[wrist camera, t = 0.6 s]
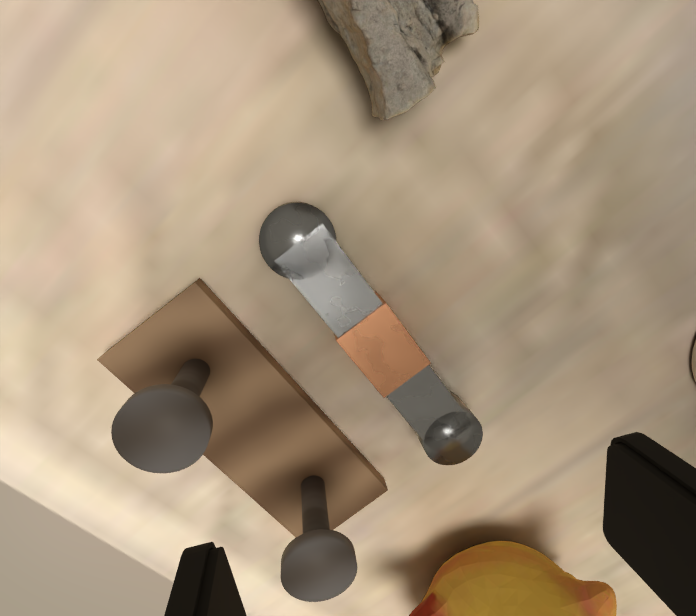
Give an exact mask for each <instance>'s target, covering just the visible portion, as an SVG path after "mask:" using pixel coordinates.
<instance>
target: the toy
mask: <svg viewBox="0 0 696 616" xmlns="http://www.w3.org/2000/svg"><path fill="white" fill-rule="evenodd" d="M616 606H617V605H616V596H615V593H614V591H613V589H612V588H611V587H610V586H609V585H608V584H606V583H604V582H600V581H582V580H578V579H576V578H575V577H574V576H573V575H571V574H569V573H567V572H564V571H563V570H562V569H561V568H560V567H559V566H558V565H556V564H555V563H554V562H553V561H551V560H550V559H549V558H548V557H546V556H545V555H543V554H542V553H540V552H538V551H537V550H535V549H533V548H530V547H528V546H526V545H523V544H519V543H516V542H509V541H493V542H486V543H483V544H479V545H475V546H473V547H471V548H468V549H466V550H464V551H461V552H459V553H457V554H455V555H454V556H453V557H451V558H450V559H449V560H448V561H446V562H445V563H444V564H442V566H441V567H440V569H439V570H438V571H437V573H436V574H435V576H434V578H433V580H432V583H431V585H430V587H429V589H428V591H427V594H426V595H425V597H424V598H423V600H422V602H421V603H420V604H419V605H418V606H417V607H416V608H415V609H414V610H413V611H412V612H411V614H410V615H409V616H616Z"/></svg>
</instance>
